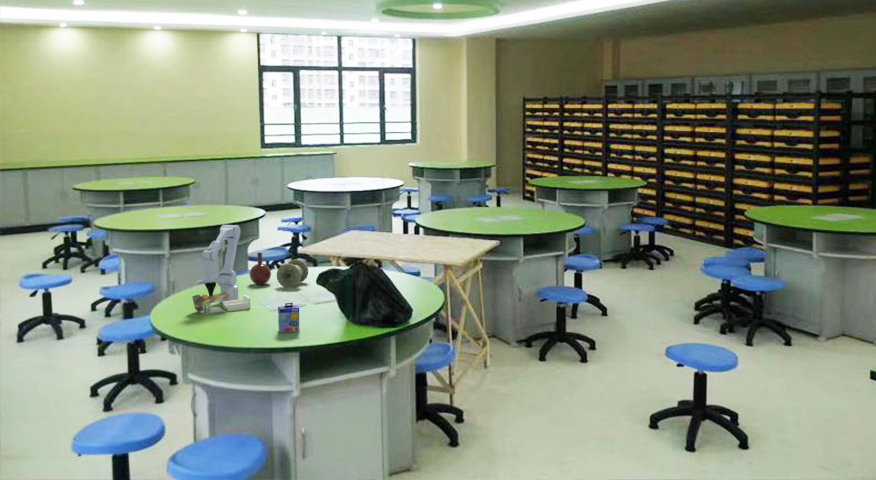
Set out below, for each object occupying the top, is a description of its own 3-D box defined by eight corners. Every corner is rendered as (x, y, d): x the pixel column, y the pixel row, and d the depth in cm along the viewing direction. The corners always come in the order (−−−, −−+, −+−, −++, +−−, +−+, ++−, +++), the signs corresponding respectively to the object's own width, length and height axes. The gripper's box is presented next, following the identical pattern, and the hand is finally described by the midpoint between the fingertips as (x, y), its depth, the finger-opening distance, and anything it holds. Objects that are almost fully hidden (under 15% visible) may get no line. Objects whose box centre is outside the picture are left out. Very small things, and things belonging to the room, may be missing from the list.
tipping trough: (198, 311, 404) (195, 298, 402) (192, 307, 414) (189, 294, 412) (231, 302, 412) (228, 289, 410) (225, 297, 422) (222, 285, 420)
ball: (208, 299, 411) (206, 292, 410) (210, 301, 408) (208, 294, 406) (201, 302, 409) (199, 295, 408) (203, 303, 406) (200, 296, 405)
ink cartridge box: (280, 333, 368) (279, 304, 365) (277, 330, 373) (277, 301, 371) (300, 331, 371) (299, 302, 369) (297, 328, 376) (297, 300, 374)
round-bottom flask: (268, 286, 472) (267, 255, 469) (247, 286, 473) (246, 255, 470) (273, 282, 485) (272, 251, 482) (253, 282, 486) (251, 251, 483)
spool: (285, 282, 487) (285, 259, 484) (308, 282, 485) (307, 259, 482) (277, 287, 470) (276, 263, 468) (300, 288, 468) (299, 264, 466)
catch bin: (245, 305, 425) (244, 294, 424) (250, 308, 417) (249, 297, 416) (223, 307, 419) (222, 297, 418) (227, 311, 410) (227, 300, 409)
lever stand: (219, 307, 419) (218, 297, 418) (224, 312, 408) (224, 302, 408) (196, 310, 412) (196, 300, 412) (202, 315, 402) (201, 304, 401)
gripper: (198, 274, 407) (199, 299, 409) (225, 271, 414) (226, 296, 416) (194, 272, 413) (196, 296, 415) (221, 269, 420) (222, 293, 422)
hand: (210, 296), depth 416 cm, fingers closed
